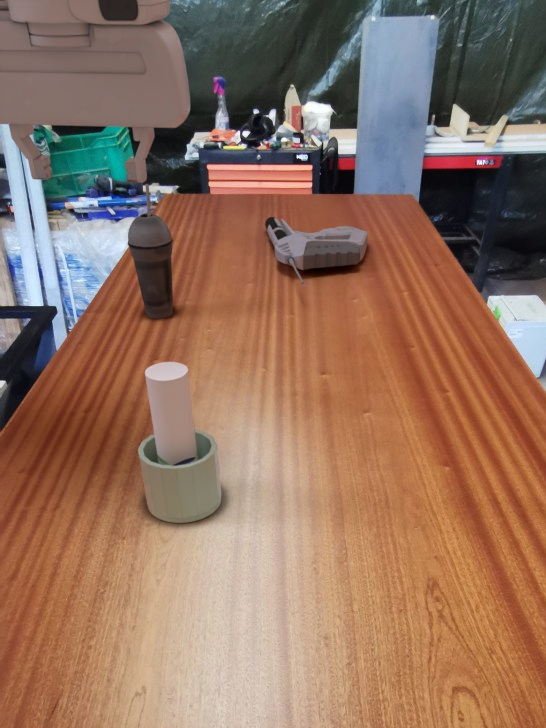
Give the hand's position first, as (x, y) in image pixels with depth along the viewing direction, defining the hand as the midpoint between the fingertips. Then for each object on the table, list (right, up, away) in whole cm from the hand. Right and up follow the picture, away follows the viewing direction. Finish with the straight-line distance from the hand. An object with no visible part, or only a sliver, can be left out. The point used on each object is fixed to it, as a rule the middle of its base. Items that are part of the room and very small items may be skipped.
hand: (89, 179), depth 71 cm
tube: (+7, -29, +13) cm, 32 cm away
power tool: (+27, +26, +73) cm, 83 cm away
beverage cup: (-2, +9, +56) cm, 57 cm away
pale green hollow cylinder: (+7, -29, +13) cm, 33 cm away
